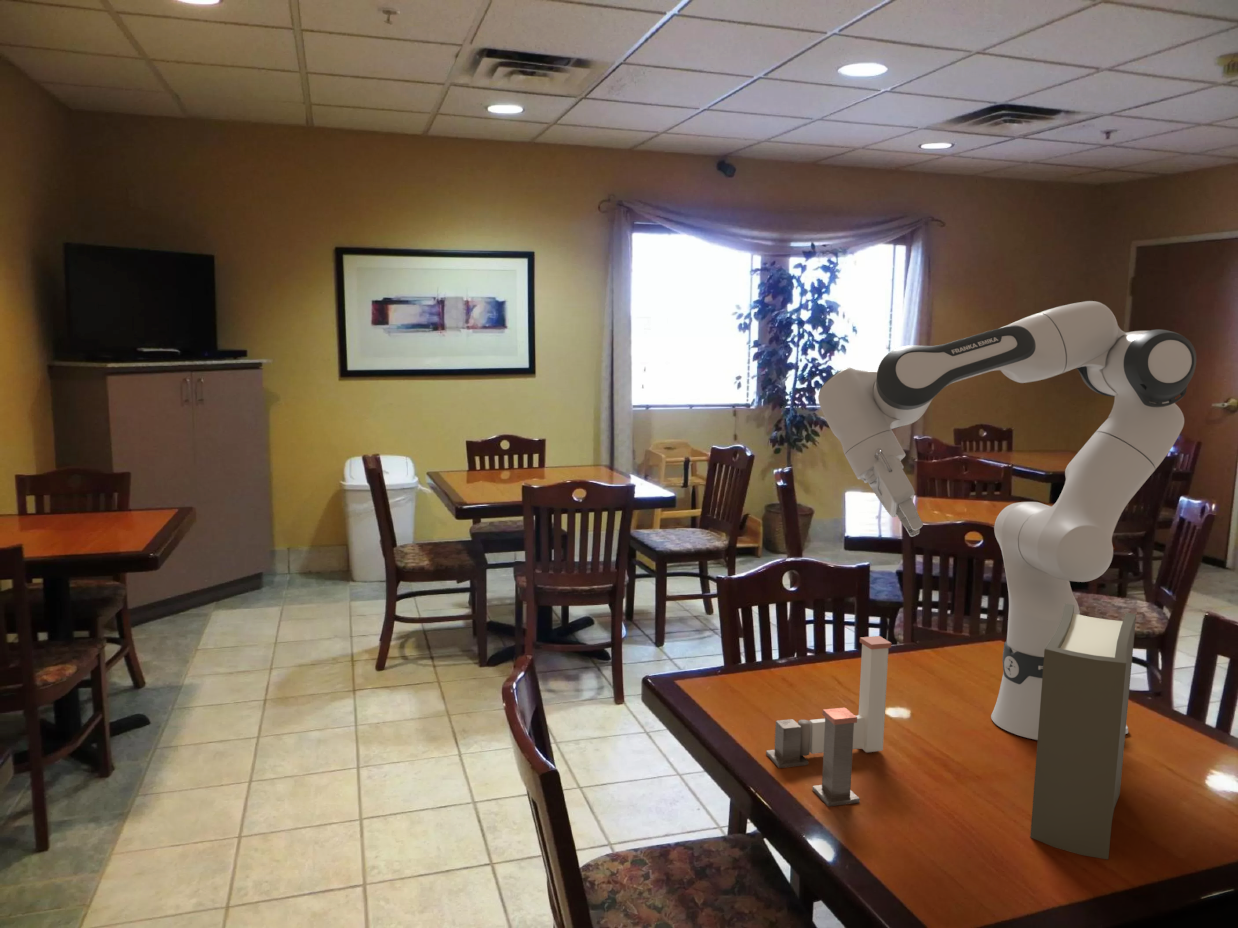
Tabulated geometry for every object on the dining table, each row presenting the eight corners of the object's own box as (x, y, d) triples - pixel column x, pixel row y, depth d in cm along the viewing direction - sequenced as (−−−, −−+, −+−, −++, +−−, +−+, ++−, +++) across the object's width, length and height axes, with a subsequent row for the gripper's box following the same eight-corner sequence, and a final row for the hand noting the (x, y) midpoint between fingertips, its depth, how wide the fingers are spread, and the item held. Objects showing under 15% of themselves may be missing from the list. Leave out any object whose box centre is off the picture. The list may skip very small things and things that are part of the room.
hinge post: (794, 750, 145) (795, 715, 144) (808, 764, 140) (809, 728, 139) (766, 753, 144) (767, 718, 143) (779, 767, 139) (780, 731, 138)
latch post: (842, 785, 133) (846, 705, 132) (859, 802, 129) (864, 718, 127) (812, 789, 132) (816, 707, 131) (828, 806, 127) (832, 721, 126)
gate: (873, 741, 148) (879, 635, 145) (885, 750, 144) (891, 642, 142) (792, 750, 144) (796, 642, 142) (802, 760, 141) (807, 649, 138)
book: (1107, 866, 115) (1126, 660, 110) (1029, 843, 120) (1044, 646, 115) (1119, 793, 132) (1136, 614, 128) (1051, 776, 137) (1064, 603, 133)
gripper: (895, 437, 139) (939, 515, 135) (892, 461, 158) (931, 530, 154) (858, 455, 140) (901, 533, 136) (860, 477, 159) (897, 546, 155)
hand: (917, 531), depth 145 cm, fingers open, 8 cm apart
